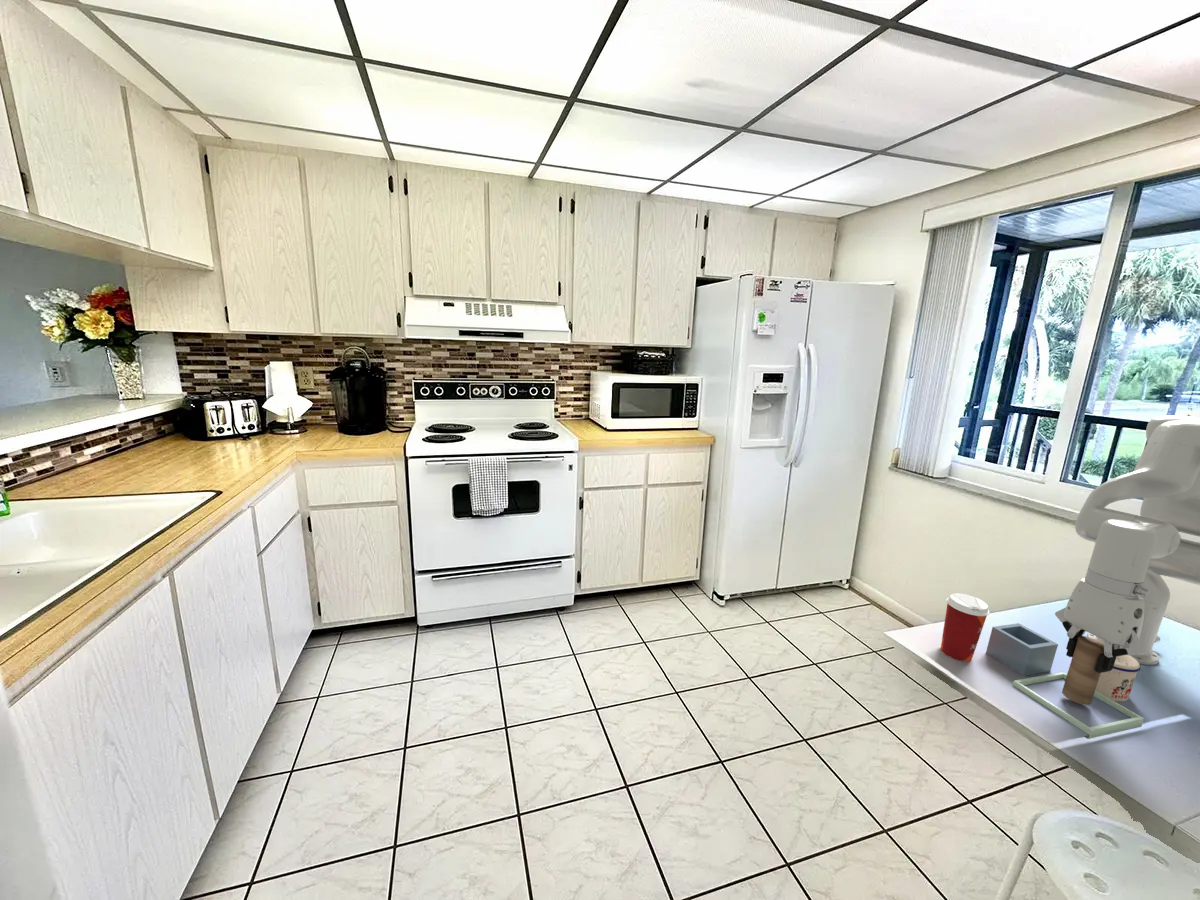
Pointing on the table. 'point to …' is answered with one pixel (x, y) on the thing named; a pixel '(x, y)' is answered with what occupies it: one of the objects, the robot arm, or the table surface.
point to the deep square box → (1021, 649)
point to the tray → (1092, 731)
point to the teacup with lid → (1119, 678)
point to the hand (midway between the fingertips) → (1087, 662)
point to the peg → (1083, 671)
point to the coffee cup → (963, 626)
